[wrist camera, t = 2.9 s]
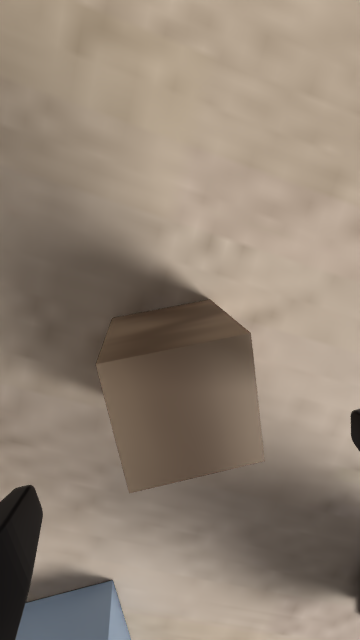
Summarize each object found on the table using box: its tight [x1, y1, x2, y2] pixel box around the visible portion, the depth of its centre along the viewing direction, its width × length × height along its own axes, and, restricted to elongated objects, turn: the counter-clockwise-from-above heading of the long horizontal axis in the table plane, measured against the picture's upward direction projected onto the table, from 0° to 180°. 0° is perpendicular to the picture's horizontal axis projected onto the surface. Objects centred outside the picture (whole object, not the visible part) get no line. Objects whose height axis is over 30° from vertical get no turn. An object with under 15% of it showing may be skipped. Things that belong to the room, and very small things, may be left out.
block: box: [96, 299, 265, 493], centre depth 13 cm, size 5×5×6 cm
